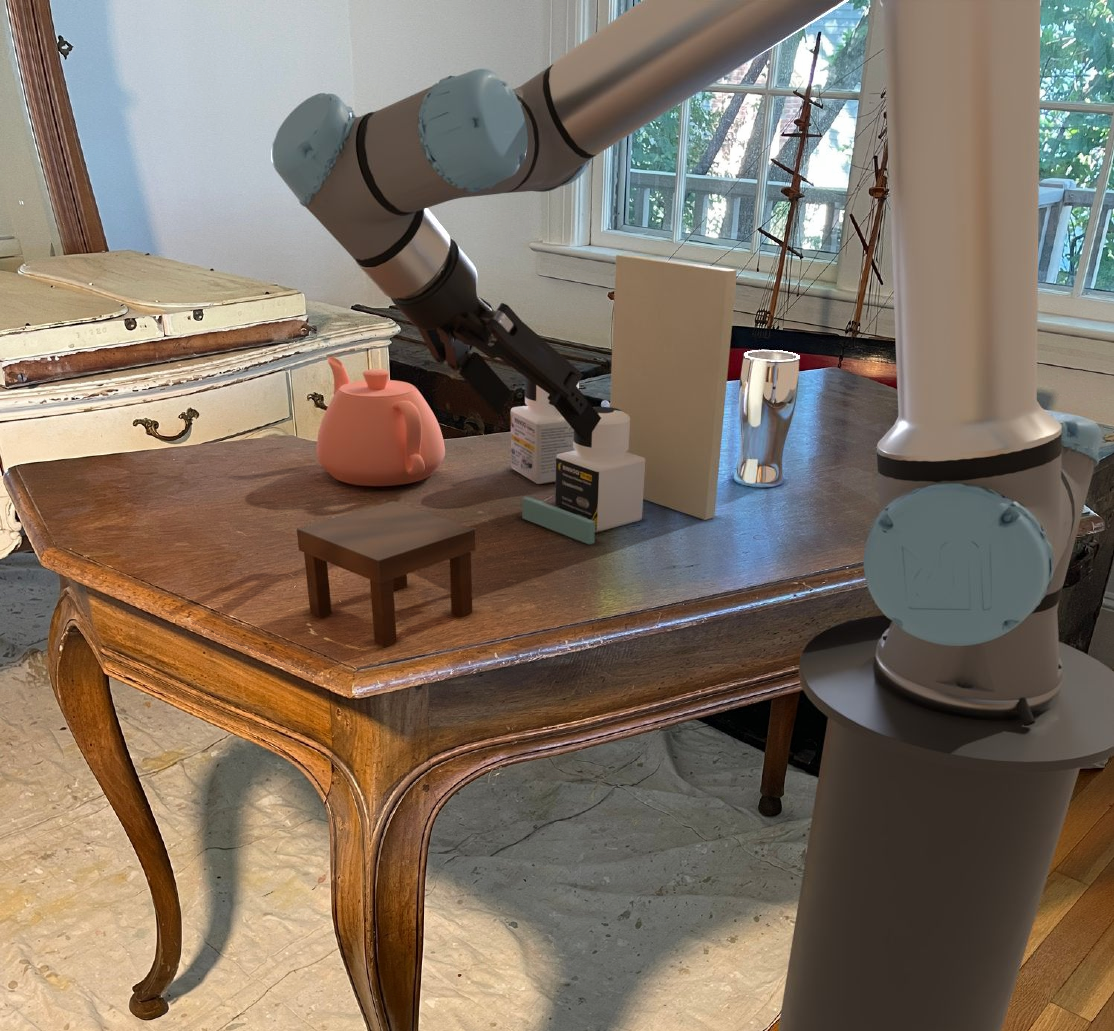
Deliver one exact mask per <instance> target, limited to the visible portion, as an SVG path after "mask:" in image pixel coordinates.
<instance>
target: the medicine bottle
mask: <svg viewBox="0 0 1114 1031" xmlns="http://www.w3.org/2000/svg"><path fill="white" fill-rule="evenodd" d="M592 407H593V408H594V409H595V411H596V412H597V413H598V414H599V416H600V417H601V419H600V421H599V422H598V424H597V425H596V427H595V429H594V430H593V432H592V433H591V435H590V436H589V438H588V439H587V441H586V440H583V439H581V438H580V437H579V435H578V434H577V433H576V432H575V431H574V441H573V448H574V449H575V451H570V452H565V453H561V454H558V455H557V456H556V482H555V493H554V494H555V498H554V500H555V501H554V507H557V508H560V509H562V510H565V511H568V512H571V513H573V514H576V515H579V516H581V517H584V518H587V519H589V520H592V521H595V533H600V532H604V531H607V530H612V529H614V528H618V527H621V526H625V525H629V524H632V523H637V522H640V521H641V520H642V519H643V506H644V499H643V492H644V474H645V458H643V457H640V456H637V455H634V454H631V453H628V452H626V451H628V449H629V432H630V417H629V415H628V414H627V413H625V412H624V411H622V410H620V409H617V408H612V407H602V406H592Z"/></svg>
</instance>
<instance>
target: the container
mask: <svg viewBox="0 0 1114 1031" xmlns="http://www.w3.org/2000/svg"><path fill="white" fill-rule="evenodd" d="M576 387H577V388H578V389H579V390H580V382H579V383H578V384H577V386H576ZM549 395H550V394H548V393H547V392H546V391H544V390H543V389H542V388H540V387H539V386H537V385H536V384H535V383H533V382H532V381H530V380H529V379H528V378H526V377H525V376H524V404H525V405H523V406H522V405H521V406H513V407H512V408H511V409H510V467H511V469H512V470H514V471H515V472H516V473H519V474H520V475H521V476H523V477H525V478H527V479H528V480H530V481H531V482H533V483H534V484H537V485H543V484H544V485H545V484H549V483H556V456H557V455H558V454H561V453H565V452H570V451H575V449H574V448H573V441H574V429H573V428H572V427H571V426H570V425H569V423H568V422H567V421H566V420H565V419H564V417H563V416H562V415H561V414H560V413H559V411H558V410H557V409H556V408H555V407H554V406H553V405H551V404H549V400H548V396H549Z"/></svg>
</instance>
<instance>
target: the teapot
mask: <svg viewBox="0 0 1114 1031" xmlns="http://www.w3.org/2000/svg"><path fill="white" fill-rule="evenodd" d="M327 363H328V365H329V367H330V369H331V372H332V376H333V397H332V398H331V400H330V402H329V404H328V406H327V408H326V410H325V412H324V415H323V416H322V419H321V422H320V425H319V428H318V431H317V432H318V433H317V438H316V458H317V460H318V462H319V464H320V465H321V466H322V467H323V468H324V469H325V471H327V473H328V474H330V476H332V477H333V478H334V479H335V480H338V481H339V482H343V483H346V484H350V485H355V486H364V487H390V486H391V487H392V486H400V485H407V484H412V483H413V484H414V483H416V482H420V481H423V480H425V479H427V478H429V477H431V476H432V475H433V474H434V473H435V471H436V470H437V469H438V468H439V467H440V465H441V463H442V462H443V460H444V458H445V456H446V455H445V454H446V447H445V441H444V437H443V434H442V430H441V426H440V424H439V422H438V419H437V418H436V416H435V413H434V412H433V410H432V409H431V407H430V405H429V403H428V402H427V401H426V399H425V398H424V396H423V395H422V393H421V392H420V391H419V389H418V388H417V386H416V385H413V384H411V383H409V382H406V381H401V380H396V379H395V380H394V379H393V380H392V379H389V378H390V371H389V370H386V369H382V368H373V369H367V370H364V371H363V372H362V376H363V378H364V380H357V381H352V382H351V380H350V377H349V374H348V372H347V369H346V367H345V365H344V364H343V362H341V360H339V359H338V358H337V357H333V356H328V357H327Z"/></svg>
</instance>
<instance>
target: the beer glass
mask: <svg viewBox="0 0 1114 1031" xmlns="http://www.w3.org/2000/svg"><path fill="white" fill-rule="evenodd" d="M800 359H801V357H800V355H798V354H796V353H793V352H788V351H783V350H769V349H761V350H760V349H759V350H750V351H747V352H744V353H743V359H742V363H741V364H742V365H741V370H740V374H739V375H740V376H739V382H738V383H739V384H738V392H737V419H738V432H739V453H738V459H737V462H736V467H735V470H734V474H733V481H734V482H735V483H737V484H740V485H742V486H746V487H750V488H761V489H762V488H774V487H777V486H780V485H782V484H783V483H784V469H783V456H784V455H783V454H784V450H785V449H784V448H785V444H786V441H787V437H788V434H789V431H790V427H791V423H792V420H793V416H794V413H795V409H796V403H797V399H798V390H799V374H800Z"/></svg>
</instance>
